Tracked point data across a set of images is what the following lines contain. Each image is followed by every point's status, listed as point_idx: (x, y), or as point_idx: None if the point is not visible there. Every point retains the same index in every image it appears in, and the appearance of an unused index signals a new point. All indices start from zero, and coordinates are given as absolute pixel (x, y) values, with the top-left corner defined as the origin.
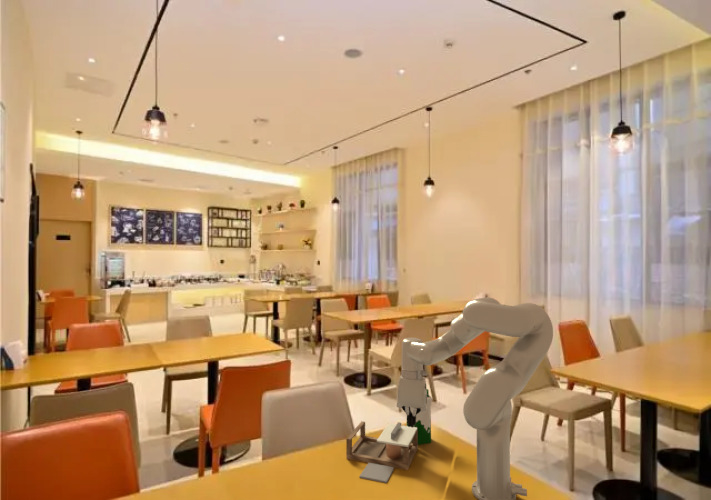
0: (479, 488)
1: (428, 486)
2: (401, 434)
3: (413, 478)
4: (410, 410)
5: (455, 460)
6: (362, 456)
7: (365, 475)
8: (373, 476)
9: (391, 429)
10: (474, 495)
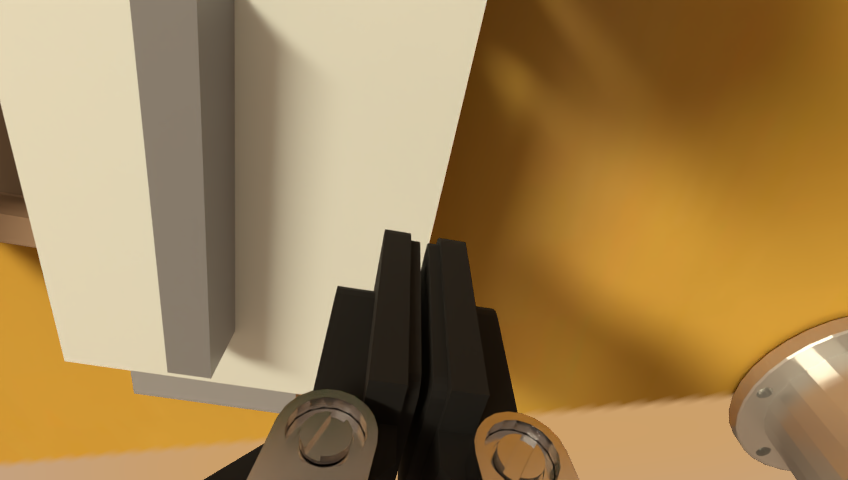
0: (776, 444)
1: (515, 373)
2: (285, 205)
3: None
4: (369, 477)
5: (802, 55)
6: (34, 242)
7: (163, 386)
8: (210, 388)
9: (99, 65)
10: (729, 420)
